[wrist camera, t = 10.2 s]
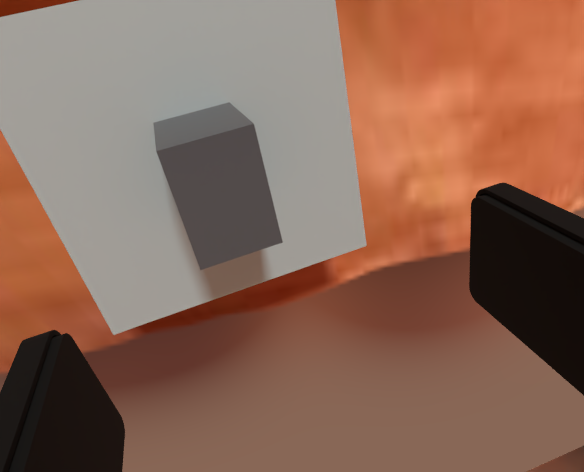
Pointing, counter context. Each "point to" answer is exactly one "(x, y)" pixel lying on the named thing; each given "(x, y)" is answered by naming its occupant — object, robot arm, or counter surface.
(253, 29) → the lid
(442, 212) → the counter surface
